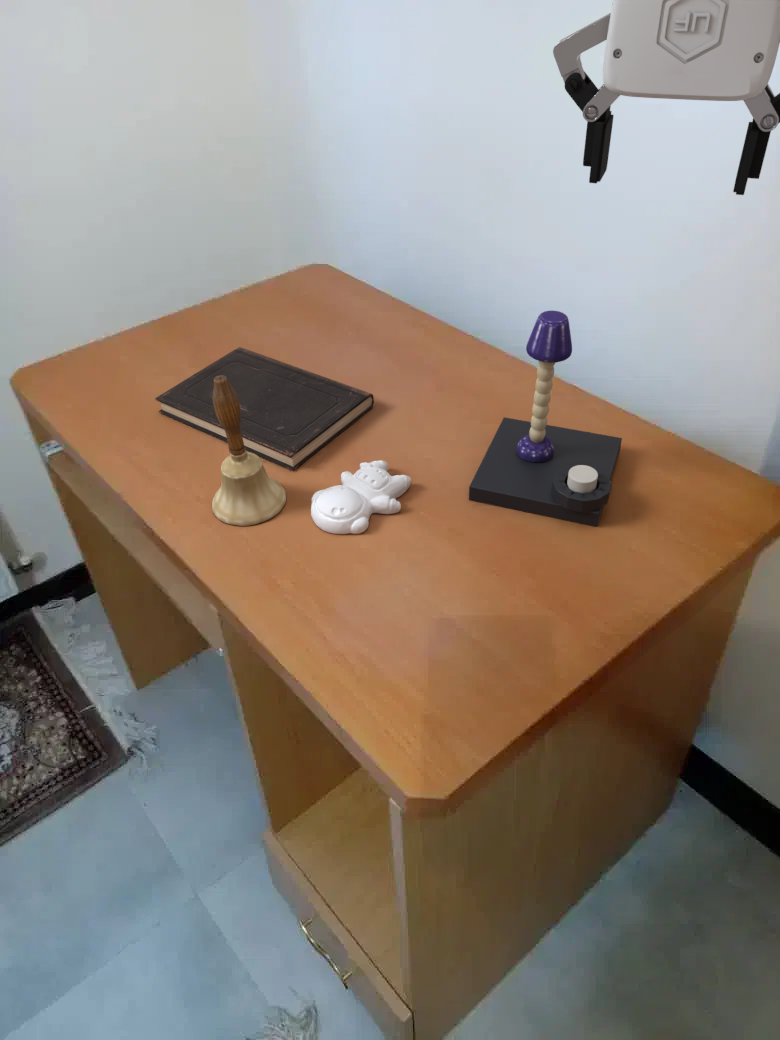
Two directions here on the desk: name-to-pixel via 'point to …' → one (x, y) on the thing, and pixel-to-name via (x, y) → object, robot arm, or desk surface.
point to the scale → (546, 473)
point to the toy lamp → (544, 380)
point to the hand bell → (241, 470)
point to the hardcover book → (270, 406)
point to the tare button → (582, 479)
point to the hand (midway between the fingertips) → (666, 182)
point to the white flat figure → (358, 498)
